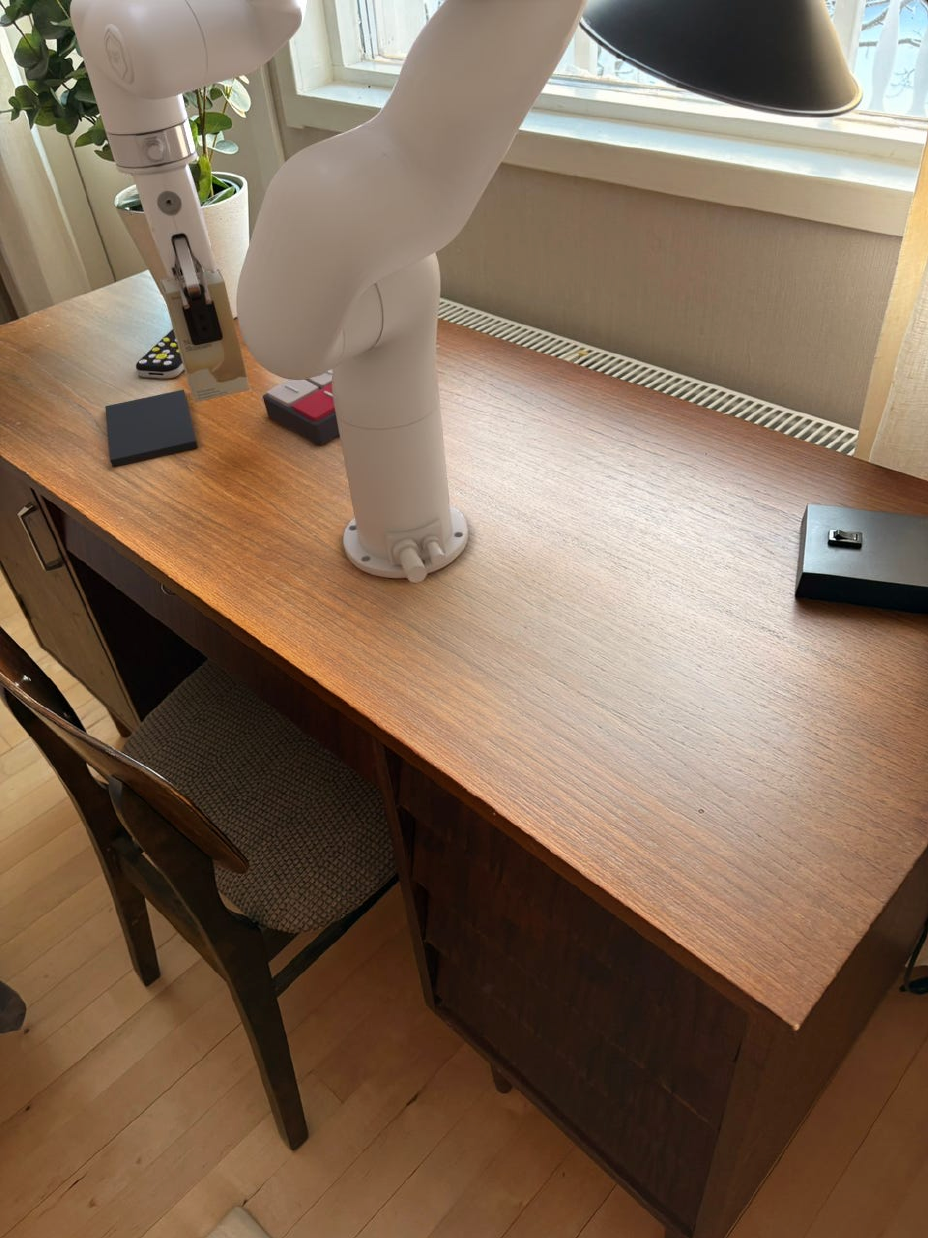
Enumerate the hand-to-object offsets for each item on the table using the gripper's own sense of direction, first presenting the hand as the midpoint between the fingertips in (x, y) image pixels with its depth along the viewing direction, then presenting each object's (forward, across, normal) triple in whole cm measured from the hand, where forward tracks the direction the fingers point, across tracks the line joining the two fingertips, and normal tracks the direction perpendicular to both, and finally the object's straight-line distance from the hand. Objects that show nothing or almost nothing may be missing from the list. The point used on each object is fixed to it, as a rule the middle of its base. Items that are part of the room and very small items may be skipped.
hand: (204, 330), depth 100 cm
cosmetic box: (+7, 0, 0) cm, 7 cm away
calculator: (+16, +7, -14) cm, 22 cm away
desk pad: (+15, +12, +10) cm, 22 cm away
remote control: (+15, +31, +4) cm, 35 cm away
